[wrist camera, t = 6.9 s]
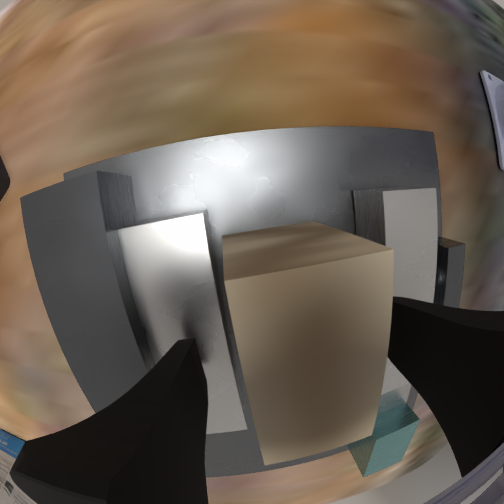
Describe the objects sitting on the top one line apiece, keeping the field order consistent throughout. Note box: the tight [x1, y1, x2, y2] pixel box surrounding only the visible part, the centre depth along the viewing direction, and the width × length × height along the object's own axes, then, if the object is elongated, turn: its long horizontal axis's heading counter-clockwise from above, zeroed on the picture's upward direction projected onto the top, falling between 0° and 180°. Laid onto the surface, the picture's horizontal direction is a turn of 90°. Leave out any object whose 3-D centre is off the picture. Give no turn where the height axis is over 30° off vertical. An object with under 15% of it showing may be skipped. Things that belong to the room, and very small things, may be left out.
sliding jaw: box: [347, 187, 438, 477], centre depth 12 cm, size 3×18×4 cm, turn 8°
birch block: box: [222, 221, 394, 465], centre depth 9 cm, size 4×7×6 cm, turn 8°
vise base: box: [20, 126, 465, 477], centre depth 12 cm, size 19×22×4 cm
